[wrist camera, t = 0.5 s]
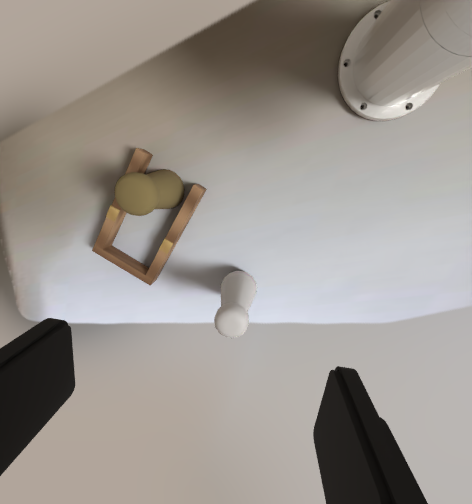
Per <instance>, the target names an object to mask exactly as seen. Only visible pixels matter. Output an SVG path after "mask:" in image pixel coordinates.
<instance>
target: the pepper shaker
mask: <svg viewBox="0 0 472 504" xmlns="http://www.w3.org/2000/svg"><path fill="white" fill-rule="evenodd" d="M184 190H185V189H184V185H183V182H182V180H181V178H180V177H179V176H178V175H177V174H176V173H174V172H172V171H170V170H165V169H163V170H158V171H155V172H152V173H149V174H146V175H145V174H143V173H139V172H131V173H127V174H125V175H124V176H122V177H120V179H119V180H118V181H117V183H116V186H115V198H116V201H117V203H118V204H119V206H120V207H121V208H122V209H123V210H124V211H125V212H127V213H129V214H131V215H137V216H142V215H146V214H148V213H150V212H152V211H153V210H154V209H170V208H174V207H176V206H178V205H179V204H180V203H181V201H182V199H183V197H184Z"/></svg>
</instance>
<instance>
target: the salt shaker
mask: <svg viewBox="0 0 472 504" xmlns="http://www.w3.org/2000/svg"><path fill="white" fill-rule="evenodd" d="M256 293H257V285H256V282H255V280H254V279H253V277H252V276H251V275H249V274H248V273H246V272H243V271H235V272H231V273H229V274H228V275H227V276H226V277H225V278H224V279H223V281H222V284H221V307H220V308H219V309H218V311H217V313H216V315H215V319H214V321H215V327H216V329H217V330H218V332H219V333H220V334H222V335H224V336H226V337H230V338H235V337H239V336H241V335H242V334H243V333H245V331H246V329H247V327H248V324H249V317H248V313H247V312H248V310H249V308H250V306H251V304H252V301H253V299H254V297H255V295H256Z"/></svg>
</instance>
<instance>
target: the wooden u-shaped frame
mask: <svg viewBox="0 0 472 504" xmlns="http://www.w3.org/2000/svg"><path fill="white" fill-rule="evenodd" d="M152 156H153V155H152V154H151V153H149V152H147V151H146V150H144V149H139V148H136V150H135V152H134V154H133V157H132V159H131V161H130V164H129V166H128V168H127V171H126V173H125V174H127V173H131V172H139V173H143V174H144V173H145V171H146V169H147V167H148V165H149V163H150V160H151V158H152ZM205 191H206V188H204V187H202V186H201V185H199V184H194V185H193V187H192V189H191V191H190V193H189V195H188V196H187V198H186V200H185V202H184V204H183V206H182V208H181V210H180V211H179V213H178V215H177V217H176V219H175V221H174V223H173V225H172V226H171V228H170V230H169V232H168V234H167V236H166V238H165V239H164V241H163V242H162V244H161V246H160V248H159V251H158V253H157V255H156V256H155V258H154V260H153V262H152V264H151V266H150V268H148V267H146V266H145V265H143V264H142V263H140V262H138V261H137V260H135V259H133V258H132V257H130V256H128V255H127V254H125V253H123V252H122V251H120V250H118V249H117V248H115V247H113V246H112V243H113V241H114V239H115V237H116V235H117V232H118V230H119V228H120V226H121V224H122V222H123V219H124V217H125V215H126V213H127V212H125V211H124V210H123V209H122V208H121V207H120V206H119V204H118V203H117V201H116V198H115V199H114V201H113V203H112V205H110V208H109V210H108V212H107V215H106V219H105V222H104V224H103V226H102V229H101V231H100V233H99V236H98V238H97V240H96V243H95V245H94V247H93V250H92V251H93V252H95V253H97V254H98V255H100V256H102V257H103V258H105V259H107V260H109V261H110V262H112V263H114V264H115V265H117V266H119V267H120V268H122V269H124V270H125V271H127V272H129V273H130V274H132V275H134V276H135V277H137V278H139V279H140V280H142V281H144V282H145V283H147V284H149V285H151V284H152V283H153V282H155V281H156V280H157V278H158V276H159V274H160V272H161V271H162V269H163V267H164V265H165V263H166V262H167V260H168V258H169V256H170V254H171V252H172V251H173V249H174V247H175V245H176V243H177V242H178V240H179V238H180V236H181V234H182V233H183V231H184V229H185V227H186V225H187V224H188V222H189V220H190V218H191V216H192V215H193V213H194V211H195V209H196V207H197V206H198V204H199V202H200V200H201V198H202V197H203V195H204V193H205Z"/></svg>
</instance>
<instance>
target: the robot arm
mask: <svg viewBox="0 0 472 504" xmlns="http://www.w3.org/2000/svg"><path fill="white" fill-rule="evenodd" d="M374 17H376V18H377V19H375V18H374ZM344 64H347V67H345V66H344ZM471 67H472V0H390V1H388V2H386V3H383V4H381V5H379V6H377V7H376V8H374V9H373V10H372V11H370V12H369V13H367V14H366V15H365V16H364V17H363V18H362V19H361V20H360V21H359V22H358V24H357V25H356V27H355V28H354V29H353V31H352V32H351V34H350V35H349V37H348V39H347V41H346V43H345V45H344V47H343V50H342V52H341V56H340V60H339V66H338V81H339V87H340V90H341V94H342V96H343V98H344V100H345V102H346V103H347V104H348V106H349V107H350V108H351V109H352V110H353V111H354V112H355V113H357V114H358V115H360V116H362V117H364V118H366V119H370V120H374V121H388V120H393V119H397V118H399V117H402V116H405V115H407V114H409V113H411V112H413V111H414V110H416V109H417V108H419V107H420V106H421V105H423V104H424V103H425V102H426V101H427V100H428V99H429V98H430V97H431V96H432V95H433V93H434V92H435V91H436V89H437V88H438V87H439V85H440V83H442V82H444V81H446V80H448V79H450V78H452V77H454V76H456V75H458V74H460V73H462V72H464V71H466V70H467V69H469V68H471ZM360 106H362V107H363V109H362V110H361V109H360ZM405 106H407V110H406V109H405ZM74 388H75V376H74V362H73V349H72V335H71V327H70V326H68V323H67V322H66V321H64V320H59V319H53V318H47V319H45V320H43V321H42V322H40V323H39V324H37V325H36V326H34V327H33V328H31V329H30V330H28V331H27V332H25V333H24V334H22V335H21V336H19V337H17V338H16V339H14V340H13V341H11V342H10V343H8V344H7V345H5V346H4V347H2V348H1V349H0V476H1V474H2V473H3V472H4V471H5V470H6V469H7V468H8V466H9V465H10V464H11V463H12V462H13V461H14V460H15V458H16V457H17V456H18V455H19V454H20V453H21V452H22V451H23V449H24V448H25V447H26V446H27V445H28V444H29V443H30V441H31V440H32V439H33V438H34V437H35V436H36V435H37V433H38V432H39V431H40V430H41V429H42V428H43V427H44V426H45V424H46V423H47V422H48V421H49V420H50V419H51V418H52V416H53V415H54V414H55V413H56V412H57V411H58V409H59V408H60V407H61V406H62V405H63V404H64V403H65V402H66V400H67V399H68V398H69V397H70V396H71V394H72V393H73V391H74ZM314 443H315V449H316V454H317V458H318V463H319V469H320V474H321V479H322V484H323V489H324V494H325V499H326V504H428V503H427V501H426V499H425V497H424V495H423V493H422V491H421V489H420V487H419V486H418V484H417V482H416V480H415V478H414V476H413V474H412V472H411V470H410V468H409V466H408V464H407V462H406V460H405V458H404V456H403V454H402V452H401V450H400V448H399V446H398V444H397V442H396V440H395V438H394V436H393V435H392V433H391V431H390V429H389V427H388V425H387V423H386V422H385V421H384V420H383V419H382V418H380V417H379V416H378V413H377V412H376V410H375V408H374V405H373V403H372V401H371V399H370V397H369V395H368V393H367V391H366V389H365V387H364V385H363V383H362V381H361V379H360V377H359V375H358V373H357V371H356V370H355V369H351V368H345V367H339V366H338V367H336V369H335V370H331V371H330V373H329V377H328V380H327V383H326V387H325V391H324V395H323V398H322V401H321V405H320V408H319V412H318V416H317V419H316V423H315V426H314Z"/></svg>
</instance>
